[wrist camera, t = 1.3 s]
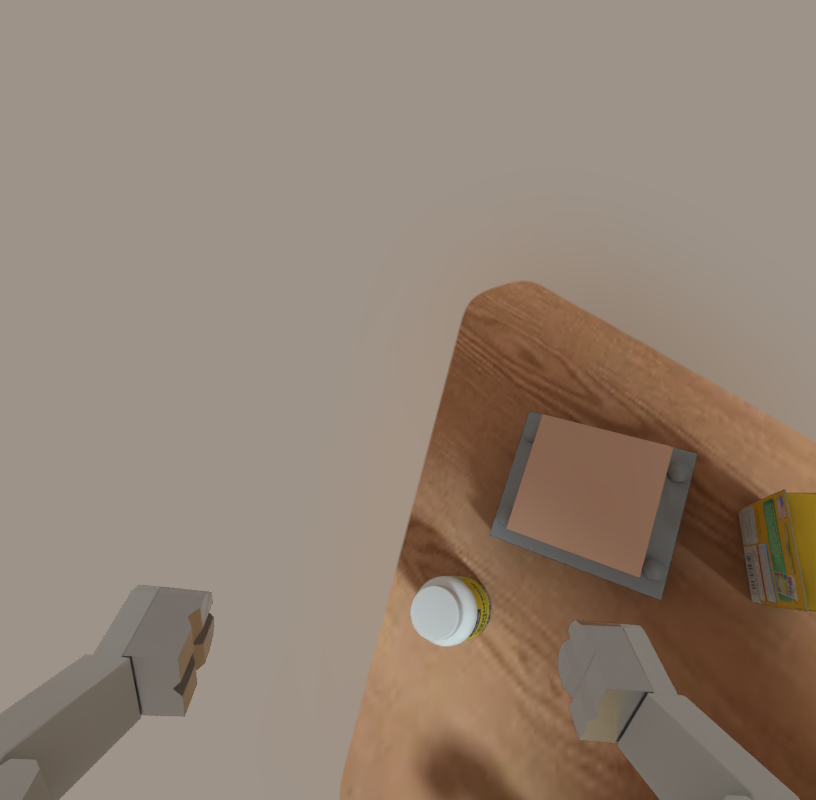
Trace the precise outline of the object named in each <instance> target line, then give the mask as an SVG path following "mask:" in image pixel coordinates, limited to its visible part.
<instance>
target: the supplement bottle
mask: <svg viewBox="0 0 816 800" xmlns="http://www.w3.org/2000/svg"><path fill="white" fill-rule="evenodd" d="M410 615H411V621H412V623H413V626H414V628H415V629H416V631H417V632H418V633H419V634H420V635H421V636H422V637H424V638H425V639H427V640H429V641H430V642H432V643H434V644H436V645H439V646H454V645H458V644H460V643H462V642H464V641H467V640H469V639H471V638H473V637H475V636H477V635H479V634H480V633H481V632H483V631H484V629H485V628H486V627H487V625H488V624H489V621H490V619H491V615H492V603H491V599H490V596H489V594H488V592H487V590H486V589H485V587H484V586H483V585H482V584H481V583H480V582H478V581H477V580H475V579H473V578H470V577H466V576H439V577H435V578H433V579H431V580H429V581H427V582H426V583H425V584H424V585H423V586H422V587H421V588H420V590H419V591H418V593H417V594H416V595H415V597H414V599H413V601H412V604H411V610H410Z"/></svg>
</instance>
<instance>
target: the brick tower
mask: <svg viewBox="0 0 816 800" xmlns="http://www.w3.org/2000/svg"><path fill="white" fill-rule="evenodd" d="M696 458H697V453H693V452H689V451H685V450H681V449H677V448H673V447H672V446H668V445H664V444H660V443H656V442H652V441H648V440H644V439H640V438H636V437H632V436H628V435H624V434H620V433H616V432H612V431H608V430H604V429H600V428H596V427H592V426H588V425H584V424H580V423H576V422H572V421H568V420H564V419H561V418H557V417H553V416H549V415H545V414H539V413H535V412H531V411H529V414H528V418H527V421H526V424H525V427H524V430H523V433H522V436H521V439H520V442H519V445H518V448H517V452H516V455H515V458H514V461H513V464H512V467H511V470H510V473H509V476H508V479H507V482H506V486H505V489H504V492H503V495H502V498H501V501H500V504H499V507H498V510H497V513H496V517H495V520H494V523H493V526H492V529H491V532H490V535H491V536H493V537H496V538H498V539H501V540H504V541H506V542H509V543H512V544H514V545H517V546H519V547H522V548H525V549H527V550H530V551H533V552H535V553H538V554H540V555H543V556H546V557H548V558H551V559H553V560H556V561H559V562H561V563H564V564H567V565H569V566H572V567H574V568H577V569H580V570H582V571H585V572H588V573H590V574H593V575H595V576H598V577H601V578H603V579H606V580H609V581H611V582H614V583H616V584H619V585H622V586H624V587H627V588H630V589H632V590H635V591H637V592H640V593H643V594H645V595H648V596H650V597H653V598H656V599H658V600H661V599H662V595H663V591H664V587H665V583H666V579H667V575H668V571H669V567H670V563H671V559H672V555H673V551H674V547H675V543H676V539H677V535H678V531H679V527H680V522H681V518H682V514H683V510H684V506H685V502H686V498H687V494H688V490H689V486H690V482H691V478H692V474H693V470H694V466H695V462H696Z"/></svg>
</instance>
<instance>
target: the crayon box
mask: <svg viewBox="0 0 816 800" xmlns="http://www.w3.org/2000/svg"><path fill="white" fill-rule="evenodd" d="M738 516H739V521H740V528H741V534H742V540H743V547H744V554H745V561H746V568H747V574H748V580H749V586H750V592H751V599H752V602H754V603H757V604H763V605H769V606H774V607H781V608H787V609H792V610H799V611H814V612H816V493H786V491H785V489H783V490H782V491H780V492H778V493H774V494H772V495H770V496H768V497H766V498H763V499H761V500H759V501H757V502H755V503H752V504H750V505H748V506H746V507H744V508H741V509H739V510H738Z"/></svg>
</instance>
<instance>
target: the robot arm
mask: <svg viewBox="0 0 816 800" xmlns="http://www.w3.org/2000/svg"><path fill="white" fill-rule="evenodd" d="M212 604H213V601H212V592H206V591H196V590H187V589H179V588H169V587H158V586H148V585H138V586H137V587H135V588H134V589H133V590H132V591H131V593H130V594H129V596H128V598H127V599H126V601H125V603H124V604H123V606H122V608H121V609H120V611H119V613H118V614H117V616H116V617H115V619H114V621H113V623H112V624H111V626H110V627H109V629H108V631H107V632H106V634H105V636H104V637H103V639H102V641H101V642H100V644H99V646H98V647H97V649H96V651H95V652H94V654H93V655H84V656H82V657H81V658H80V659H78V660H77V661H76V662H74V663H72V664H71V665H69V666H68V667H67V668H65V669H64V670H62V671H61V672H59V673H58V674H57V675H55V676H54V677H53V678H51V679H50V680H48V681H47V682H45V683H44V684H42V685H41V686H39V687H38V688H36V689H35V690H34V691H33V692H31V693H29V694H28V695H26V696H25V697H24V698H22V699H21V700H19V701H18V702H17V703H15V704H14V705H12V706H11V707H9V708H8V709H6V710H5V711H4V712H2V713H1V714H0V800H59V799H60V798H61V797H62V796H63V795H64V794H65V793H66V792H67V791H68V790H69V789H70V788H71V787H72V786H73V785H74V784H75V783H76V782H77V781H78V780H79V779H80V778H81V777H82V776H83V775H84V774H85V773H86V772H87V771H88V770H89V769H90V768H91V767H92V766H93V765H94V764H95V763H96V762H97V761H98V760H99V759H100V758H101V757H102V756H103V755H104V754H105V753H106V752H107V751H108V750H109V749H110V748H111V747H112V746H113V745H114V744H115V743H116V742H117V741H118V740H119V739H120V738H121V737H122V736H123V735H124V734H125V733H126V732H127V731H128V730H129V729H130V728H131V727H132V726H133V725H134V724H135V723H136V722H137V721H138V720H139V719H140V718H141V715H155V716H185V714H186V712H187V709H188V706H189V704H190V701H191V699H192V696H193V693H194V691H195V688H196V685H197V678H196V670H197V669H199V668H200V667H201V666H202V665H203V664H204V663H205V661H206V658H207V656H208V653H209V650H210V646H211V642H212V637H213V631H214V617H213V616H212V615H211V614H210V613H209V611H210V609H211V606H212ZM568 632H569V635H570V639H568V640H567V641H565V642H564V643H562V646H561V649H560V651H559V658H558V669H559V675H560V679H561V683H562V686H563V688H564V689H565V690H566V691H567V693H568V694H569V695H570V696H571V697H572V698H573V699H572V702H571V705H570V707H569V709H570V712H571V715H572V718H573V722H574V725H575V728H576V731H577V734H578V737H579V740H586V741H597V742H608V743H618V744H617V747H618V748H619V749H620V750H621V752H622V753H623V754H624V755H625V757H626V758H627V759H628V760H629V762H630V763H631V764H632V766H633V767H634V768H635V769H636V771H637V772H638V773H639V774H640V776H641V777H642V778H643V779H644V781H645V782H646V783H647V785H648V786H649V787H650V788H651V790H652V791H653V792H654V793H655V795H656V796H657V797H658V798H659V800H800V799H799V797H798V796H797V795H795V794H794V793H793V792H792V791H791V790H790V789H789V788H788V787H786V786H785V785H784V784H783V783H782V782H781V781H780V780H779V779H777V778H776V777H775V776H774V775H773V774H772V773H771V772H770V771H768V770H767V769H766V768H765V767H764V766H763V765H762V764H761V763H760V762H758V761H757V760H756V759H755V758H754V757H753V756H752V755H751V754H749V753H748V752H747V751H746V750H745V749H744V748H743V747H742V746H740V745H739V744H738V743H737V742H736V741H735V740H734V739H733V738H732V737H730V736H729V735H728V734H727V733H726V732H725V731H724V730H723V729H721V728H720V727H719V726H718V725H717V724H716V723H715V722H714V721H712V720H711V719H710V718H709V717H708V716H707V715H706V714H705V713H703V712H702V711H701V710H700V709H699V708H698V707H697V706H696V705H695V704H693V703H692V702H691V701H690V700H689V699H688V698H687V697H686V696H684V695H678V694H677V692H676V690H675V688H674V686H673V684H672V682H671V680H670V679H669V677H668V675H667V673H666V671H665V669H664V667H663V665H662V663H661V661H660V659H659V657H658V656H657V654H656V652H655V650H654V648H653V646H652V644H651V642H650V640H649V638H648V636H647V635H646V633H645V631H644V629H643V628H642V627H641V626H640V625H631V624H616V623H611V622H595V621H580V620H575V621H574V622H572V623H571V625H570V627H569V630H568Z"/></svg>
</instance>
